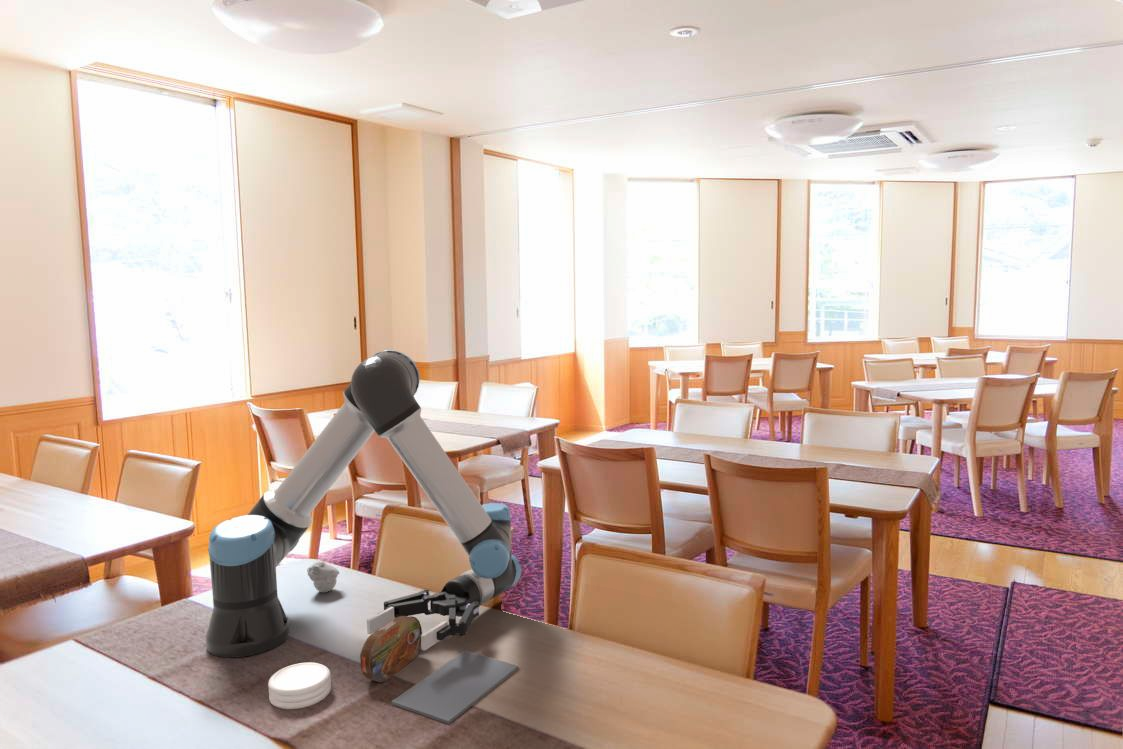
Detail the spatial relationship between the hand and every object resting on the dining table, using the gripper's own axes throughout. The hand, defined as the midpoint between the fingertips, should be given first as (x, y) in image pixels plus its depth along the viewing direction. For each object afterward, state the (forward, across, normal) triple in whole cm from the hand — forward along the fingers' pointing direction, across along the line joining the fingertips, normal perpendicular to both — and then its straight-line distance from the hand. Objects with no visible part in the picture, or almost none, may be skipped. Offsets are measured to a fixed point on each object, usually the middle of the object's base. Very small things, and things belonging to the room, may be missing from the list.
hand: (394, 634), depth 139 cm
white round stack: (+15, +8, -6) cm, 18 cm away
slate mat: (0, -14, -6) cm, 15 cm away
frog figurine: (-18, +38, -6) cm, 43 cm away
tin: (+1, 0, -6) cm, 6 cm away
